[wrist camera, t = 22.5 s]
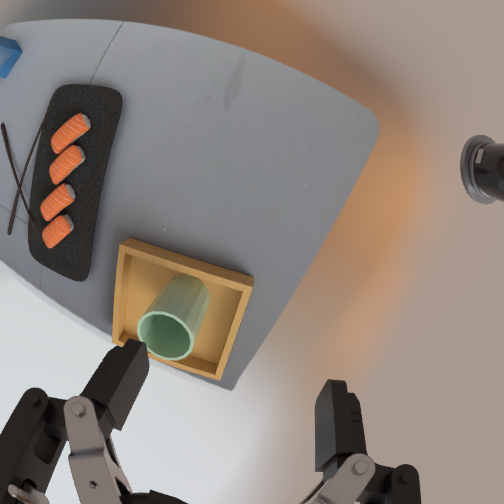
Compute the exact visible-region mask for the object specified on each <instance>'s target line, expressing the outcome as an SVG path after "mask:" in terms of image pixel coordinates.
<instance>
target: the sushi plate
mask: <svg viewBox="0 0 504 504" xmlns="http://www.w3.org/2000/svg"><path fill="white" fill-rule="evenodd" d="M121 109H122V96H121V95H120V93H119V92H117V91H116V90H113V89H111V88H107V87H100V86H91V85H76V84H73V85H64V86H61V87H59V88H58V89H57V90H56V91H55V93H54V94H53V96H52V98H51V101H50V103H49V106H48V109H47V112H46V115H45V117H44V120H43V122H42V124H41V126H40V129H39V131H38V134H37V136H36V138H35V141H34V143H33V146H32V149H31V151H30V154H29V157H28V160H27V163H26V166H25V169H24V172H23V175H22V178H21V181H20V184H19V181H18V178H17V175H16V171H15V168H14V164H13V161H12V157H11V153H10V149H9V145H8V140H7V136H6V131H5V127H4V123H2V124H1V130H2V135H3V139H4V143H5V147H6V151H7V154H8V158H9V161H10V164H11V167H12V171H13V174H14V177H15V180H16V183H17V186H18V191H17V194H16V198H15V202H14V206H13V210H12V214H11V218H10V223H9V228H8V235H10V234H11V230H12V225H13V220H14V216H15V211H16V207H17V202H18V198H19V194H21V197H22V200H23V202H24V205H25V207H26V210H27V212H28V215H29V223H28V243H29V250H30V253H31V255H32V256H33V258H34V259H35V260H37V261H38V262H39V263H41V264H42V265H44V266H45V267H47V268H49V269H51V270H53V271H55V272H57V273H59V274H61V275H63V276H65V277H67V278H69V279H72V280H74V281H80V282H82V281H85V280H86V278H87V277H88V274H89V270H90V264H91V257H92V248H93V240H94V232H95V225H96V218H97V212H98V206H99V201H100V195H101V190H102V185H103V180H104V176H105V171H106V167H107V163H108V159H109V155H110V151H111V147H112V143H113V140H114V136H115V132H116V129H117V125H118V122H119V118H120V114H121ZM41 129H42V131H41ZM40 131H41V136H40V140H39V145H38V150H37V155H36V160H35V166H34V173H33V180H32V188H31V197H30V208H29V209H28V207H27V204H26V201H25V199H24V196H23V193H22V190H21V187H22V183H23V179H24V176H25V173H26V170H27V166H28V163H29V161H30V158H31V155H32V152H33V149H34V147H35V144H36V141H37V139H38V136H39V134H40Z"/></svg>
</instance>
